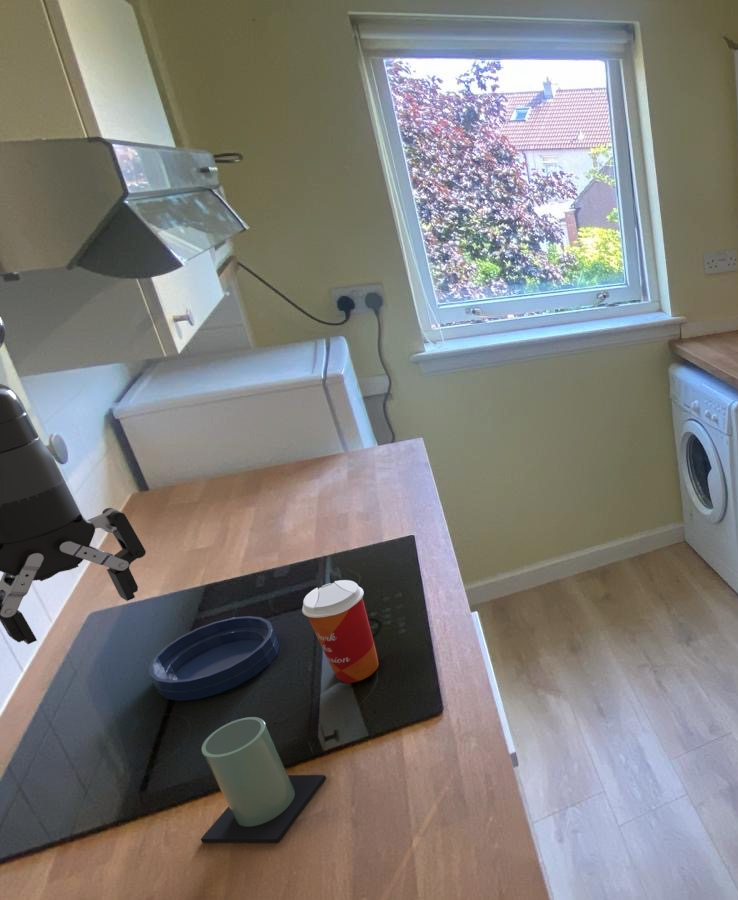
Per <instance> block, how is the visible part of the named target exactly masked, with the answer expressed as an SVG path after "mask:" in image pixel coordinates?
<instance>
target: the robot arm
mask: <svg viewBox="0 0 738 900" xmlns="http://www.w3.org/2000/svg"><path fill="white" fill-rule="evenodd" d="M6 338H7V329H6V325H5V321H4V320H3V318H2V316H1V315H0V349H1V348H2V347H3V345H4V344H5V341H6ZM96 529H101V530H103V531H104V532H106V533H108V534H109V533H111V534H113V536H114V538H115V540H116V541H117V543H118V544H119V546H120V548H121V549H120V550H119V551H117V552H116V553H115V554H114V553H110V552H108V551H105V550H103V549H100V548H97V547H95V546H92V545H91V544H92V540H93V538H94V535H95V534H96ZM146 554H147V551H146V548H145V547H144V545H143V543H142V542H141V540H140V538H139V537H138V535H137V533H136V532H135V530H134V527H133V526H132V524H131V523H130V521H129V519H128V517H127V516H126V514H125V513H123V512H121V511H120V510H118V509H115V508H113V507H107V508H104V509H103V510H102V513H101V514H98V515H97V516H94V517H91V518H89V519H86V518H85V517H84V516H83V515H82V513H81V511H80V508H79V506H78V505H77V502H76V501H75V498H74V496H73V495H72V493H71V491H70V488H69V487H68V484H67V482H66V480H65V478H64V476H63V474H62V472H61V470H60V468H59V466H58V464H57V462H56V460H55V458H54V457H53V455H52V453H51V452H50V449H49V448H48V447H47V445H46V444H44V442H43V441H42V439H41V437H40V434H38V432H37V429H36V428H35V426H34V424H33V422H32V419H31V417H30V416H29V414H28V411H27V409H26V407H25V406H24V403H23V402H22V400H21V399H20V397H19V395H18V393H16V392H15V390H13V389H12V388H10V387H9V386H7V385H5V384H2V383H0V572H1V573H2V575H1V578H0V623H1V625H2V626H3V629H4V630H5V631H6V634H7V635H8V636H9V637H10V638H11V639H12V640H13V641H15V642H17V643H21V642H23V643H25V644H27V645H30V644H32V643H35V642H37V641H38V638H37V637H36V636H35V634H34V632H33V630H32V628H31V626H30V625H29V623H28V622H27V620H26V618H25V616H24V615H23V613H22V612H21V611H20V610H19V608H20V605H21V603H22V602H23V601H22V600H23V599H24V597H25V596H26V595H27V594H28V592H29V590H30V588H31V586H32V583H33V582H34V581H40V582H43V581H46V580H48V579H50V578H52V577H54V576H55V575H57V574H59V573H63V572H67V571H71V570H74V569H76V568H78V567H79V565H80V564H81V563H82V562H83V561H88V562H91V563H94V564H97V565H100V566H104V567H107V569H106V571H107V573H108V575H109V577H110V579H111V581H112V584H113V585H114V587H115V590H116V591H117V594H118V595H119V597H120V598H122V600H125V601H126V602H128V601H130V600H133V599H135V598H136V596H135V593H137V592H138V591H139V590H138V589H139V585H138V583H137V582H136V580H135V578H134V576H133V573H132V571H131V569H130V566H131V564H132V563H134V561H136V560H137V559H142V558H143V557H145V555H146Z"/></svg>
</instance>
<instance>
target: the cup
mask: <svg viewBox="0 0 738 900" xmlns="http://www.w3.org/2000/svg"><path fill="white" fill-rule="evenodd" d="M201 754H202V756H203V758H204V759H205V761H206V764H207V766H208V768H209V769H210V772H211V774H212V776H213V778H214V780H215V782H216V784H217V786H218V788H219V790H220V792H221V793H222V796H223V798H224V801H225V802H226V805H227V807H228V806H229V808H230V810H231V812H232V814H233V816H234V818H235V820H236V822H237V823H238V824H239V825H241V826H245V827H251V826H257V825H261V824H263V823H266V822H268V821H270V820H272V819H274V818H275V817H277V816H278V815H280V814H281V813H282V812H284V811H285V810H286V809H287V808H288V807H289V805H290V804H291V803H292V801H293V799H294V796H295V790H294V788H293V785H292V783H291V781H290V778H289V776H288V775H289V774H288V772H287V770H286V767H285V765H284V763H283V761H282V757H281V756H280V754H279V752H278V749H277V747H276V745H275V742H274V739H273V737H272V736H271V733H270V731H269V729H268V726H267V724H266V721H265V720H263V719H262V718H260V717H256V716H248V717H243V718H238V719H234V720H232V721H230V722H228V723H226V724H224V725H222V726H221V727H220V726H219V728H217V729H216V730H214V731H213V732H212V733H210V735H208V737H206V739H204V741H203V743H202V744H201Z"/></svg>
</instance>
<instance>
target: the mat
mask: <svg viewBox="0 0 738 900" xmlns="http://www.w3.org/2000/svg"><path fill="white" fill-rule="evenodd" d="M288 776H289V778H290V781H291V783H292V785H293V788H294V790H295V796H294V799H293V801H292V803H291V804H290V805H289V807H288V808H287V809H286V810H285V811H284V812H282V813H281V814H280V815H278V816H277V817H275V818H274V819H272V820H270V821H268V822H266V823H263V824H261V825H257V826H251V827H245V826H241V825H239V824H238V823H237V822H236V820H235V818H234V816H233V814H232V812H231V810H230V808H229V806H228V805H227V808H226V809H225V810H224V811H223V812H222V813H221V814H220V816H219V817H218V818H217V819H216V820H215V822H213V824H212V825H211V826H210V827H209V829H207V831H206V832H205V833H204V834H203V835H202V836H201V838H200V841H201V843H268V844H269V843H270V844H271V843H273V844H274V843H275V844H276V843H277V844H278V843H279V842H280V841H281V840H282V838H284V836H285V834H286V833H287V832H288V830H289V829H290V827H292V825H293V823H294V822H295V821H296V820H297V818H298V817H299V816H300V814H301V813H302V811H304V809H305V807H306V806H307V805H308V804H309V802H310V800H311V799H312V798H313V796H315V794H316V793H317V792H318V790H319V789H320V788H321V786H322V785H323V784H324V782H325V781H326V779H327V776H326V775H325V774H288Z"/></svg>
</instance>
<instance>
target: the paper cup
mask: <svg viewBox="0 0 738 900" xmlns="http://www.w3.org/2000/svg"><path fill="white" fill-rule="evenodd" d="M364 595H365V594H364V589H363V588H362V587H360V586H359V585H358V583H357V582H355V581H353V580H349V579H342V580H341V579H340V580H339V579H338V580H335V581H334V582H332V583H331V582H329V583H326V584H323V585H321V587H319V588H318V586H317V587H315V588H314V589H312V590H311V591H310V592H308V593H307V594H306V595H305V597H304V598H303V601H302V608H301V612H302V614H303V615H304V616H306V617H307V619H308V621H309V623H310V625H311V628H312V629H313V631H314V633H315V635H316V638H317V640H318V642H319V645H320V647H321V649H322V650H323V654H325V657H326V659H327V661H328V663H329V665H330V667H331V669H332V671H333V673H334V675H335V677H336V678H337V679H338V680H339V682H340V683H343V684H353V683H357V682H360V681H363V680H365V679H367V678H368V677H370V676H372V675H373V674H374V673H375V672H376V671H377V669H378V667H379V658H378V657H379V656H378V653H377V649H376V645H375V641H374V637H373V633H372V629H371V625H370V621H369V617H368V613H367V609H366V605H365V602H364Z"/></svg>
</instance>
